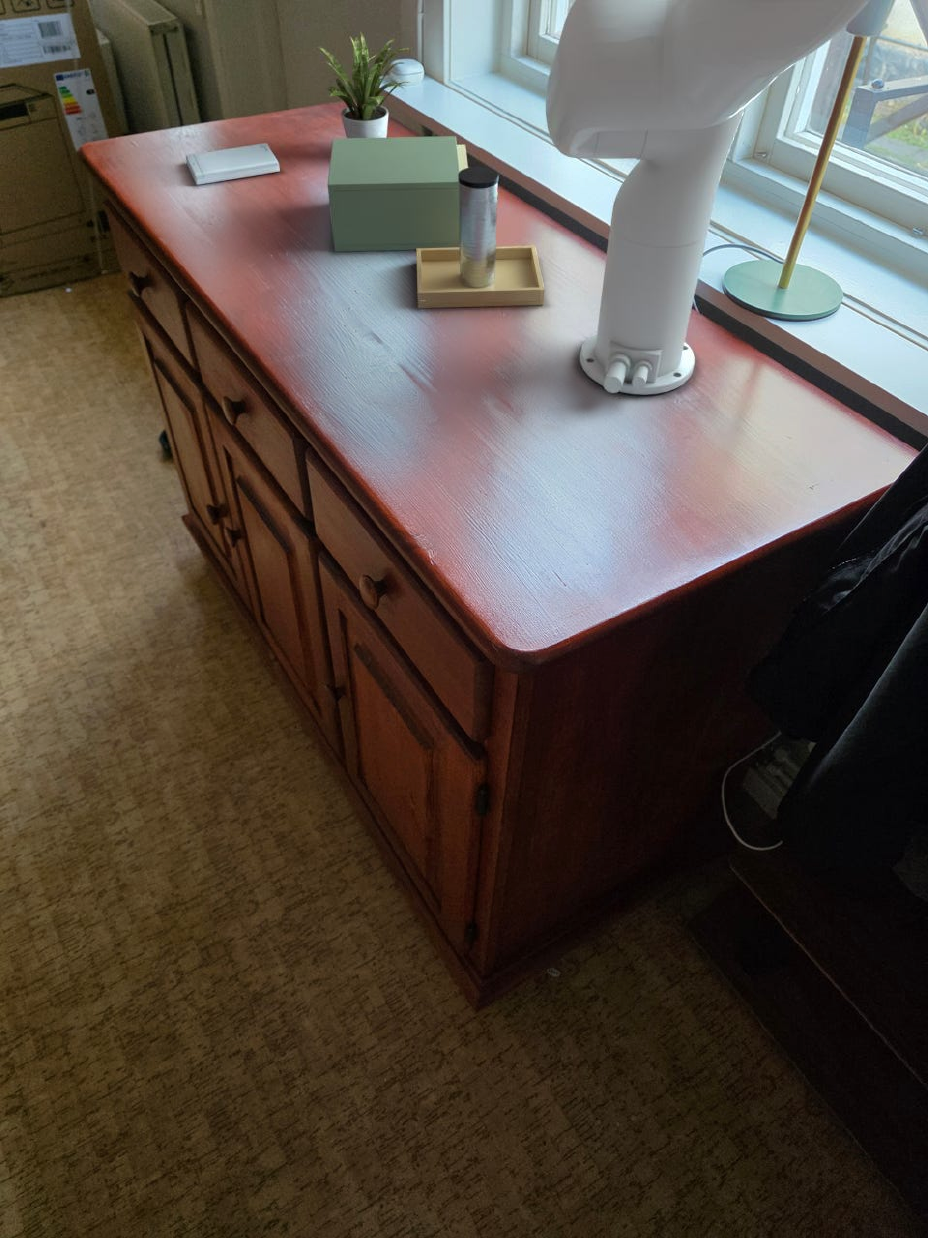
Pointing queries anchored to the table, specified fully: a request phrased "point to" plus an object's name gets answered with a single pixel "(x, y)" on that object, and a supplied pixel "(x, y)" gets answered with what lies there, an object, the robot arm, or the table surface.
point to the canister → (477, 225)
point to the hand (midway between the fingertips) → (646, 45)
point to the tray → (510, 288)
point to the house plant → (364, 92)
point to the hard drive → (232, 163)
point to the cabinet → (394, 193)
